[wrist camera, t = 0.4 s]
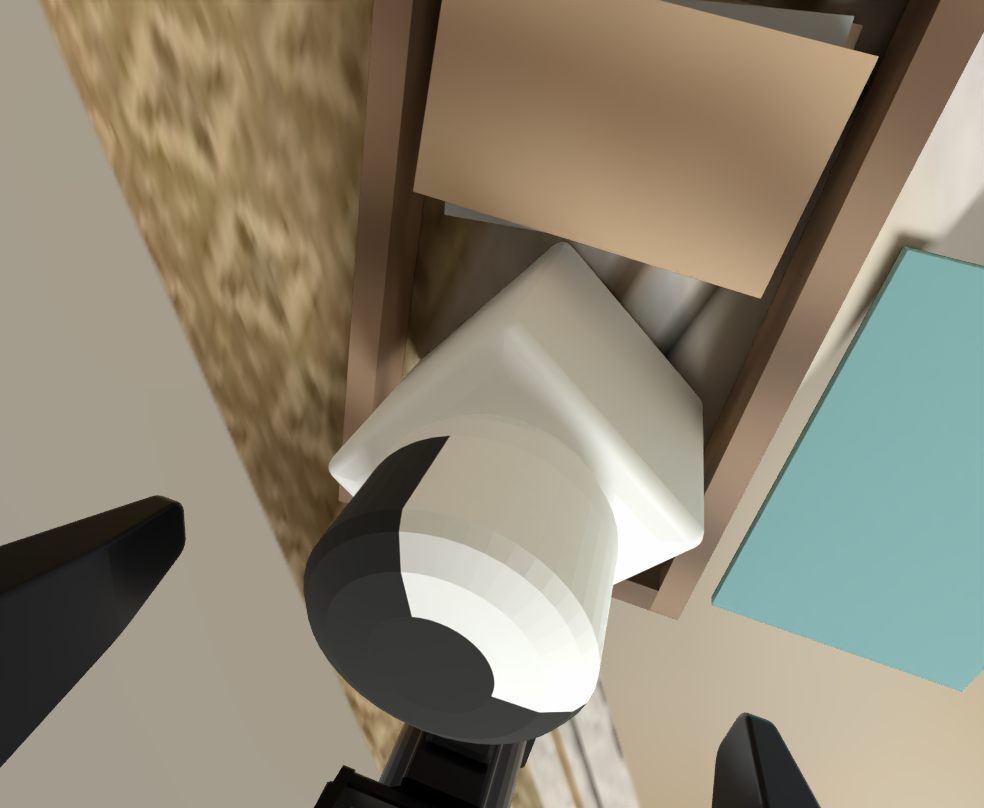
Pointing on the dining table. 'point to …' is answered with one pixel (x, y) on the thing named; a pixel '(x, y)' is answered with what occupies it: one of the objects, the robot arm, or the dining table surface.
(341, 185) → the dining table surface
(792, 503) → the teal mat
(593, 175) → the top offcut plank
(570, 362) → the medicine bottle
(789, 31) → the middle offcut plank
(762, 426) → the offcut rack
